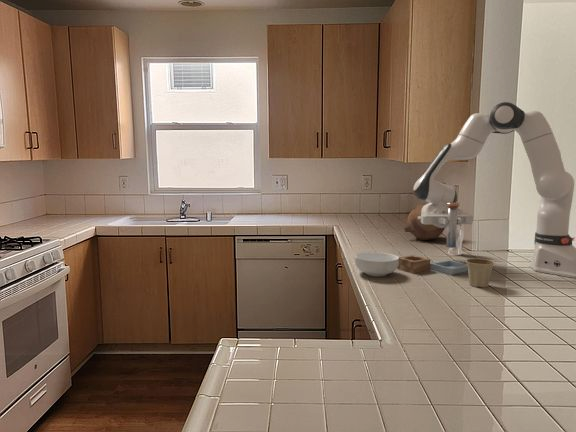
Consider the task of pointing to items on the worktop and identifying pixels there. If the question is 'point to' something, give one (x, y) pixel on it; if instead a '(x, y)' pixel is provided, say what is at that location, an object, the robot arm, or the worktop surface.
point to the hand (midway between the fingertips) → (453, 221)
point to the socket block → (414, 264)
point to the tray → (449, 267)
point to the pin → (452, 224)
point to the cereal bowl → (376, 263)
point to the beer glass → (458, 241)
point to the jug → (421, 225)
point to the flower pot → (479, 271)
